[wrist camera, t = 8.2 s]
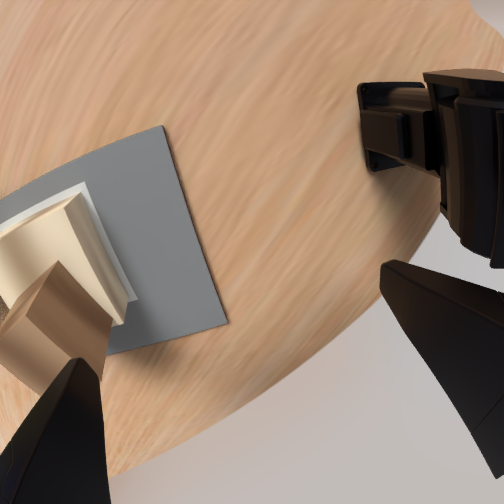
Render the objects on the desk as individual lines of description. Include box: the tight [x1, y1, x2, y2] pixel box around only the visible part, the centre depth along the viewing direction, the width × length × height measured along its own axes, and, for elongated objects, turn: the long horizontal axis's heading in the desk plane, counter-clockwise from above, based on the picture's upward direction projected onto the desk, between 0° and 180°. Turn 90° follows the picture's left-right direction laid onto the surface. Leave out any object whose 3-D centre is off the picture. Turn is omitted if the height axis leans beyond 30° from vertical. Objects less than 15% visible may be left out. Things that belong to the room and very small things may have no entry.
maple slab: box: [0, 192, 129, 327], centre depth 15 cm, size 8×8×3 cm
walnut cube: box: [0, 260, 113, 396], centre depth 13 cm, size 5×5×5 cm
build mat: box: [0, 125, 227, 356], centre depth 18 cm, size 16×15×1 cm
